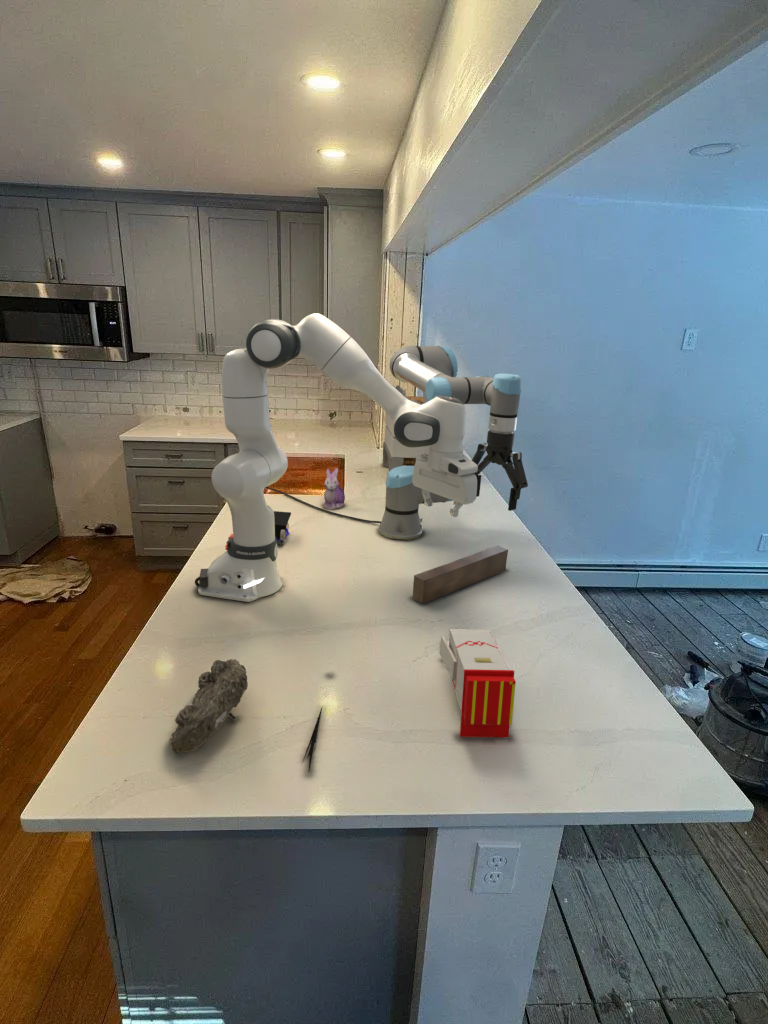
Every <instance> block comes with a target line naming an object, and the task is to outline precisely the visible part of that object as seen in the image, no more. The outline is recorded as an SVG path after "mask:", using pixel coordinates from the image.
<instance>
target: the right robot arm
mask: <svg viewBox="0 0 768 1024" xmlns="http://www.w3.org/2000/svg"><path fill="white" fill-rule="evenodd" d="M458 363H459V362H458V358H457V355H456V354H455V352H454V351H453V350H452V349H451V347H448V346H440V345H406V346H403V347H401V348H399V349H397V350H396V351H395V352H394V353H393V354H392V356H391V358H390V361H389V371H390V373H391V375H392V376H393V378H395V379H396V380H397V381H399V382H402V383H404V384H405V383H406V384H407V383H409V384H410V385H412V386H413V387H415V388H417V389H418V390H420V391H421V392H422V397H423V404H424V403H426V402H428V401H430V400H432V399H434V398H435V397H436V396H439V395H443V396H444V395H445V396H450V397H454V398H456V399H459V400H460V401H461V402H462V403H463V404H464V405H488V406H490V409H489V419H488V427H487V428H488V429H489V430H488V431H487V435H486V442H483V443H478V445H477V448H476V452H475V454H474V455H473V457H472V459H471V461H473V462H474V463H476V464H477V466H478V470H477V472H476V473H474V474H475V475H476V477H477V495H476V498H477V497H480V495H481V493H480V492H481V483H482V475H481V473H482V472H483V471H484V469H486V468H487V467H488V466H489V465H490V463H492V464H497V465H499V466H501V467H502V469H504V470H505V473H506V475H507V477H508V479H509V481H510V483H511V485H512V487H511V488H510V491H509V498H508V499H509V500H508V507H507V511H510V512H511V511H514V510H517V505H518V500H520V498H521V491H522V489H525V488H527V487H529V484H528V479H527V475H526V472H525V468H524V463H523V453H522V452H521V451H519V452H514V451H513V448H514V446H515V439H516V438H515V437H516V433H515V431H516V430H517V421H518V413H519V408H520V407H519V406H520V400H521V393H522V378H521V376H520V375H518V374H514V373H513V374H512V373H496V374H495V375H494V377H490V376H488V375H476V376H471V377H470V376H469V377H468V376H467V377H466V376H460V377H459V376H458V370H459V366H458V365H459V364H458ZM457 376H458V377H457ZM425 449H426V455H428V452H429V446H425ZM485 453H486V455H485ZM484 455H485V457H484V458H483V456H484ZM482 458H483V459H482ZM481 460H482V461H481ZM413 470H414V466H406V465H404V466H400V467H396V468H393V469H391V470H390V471H389V470H388V472H387V475H386V480H385V481H386V482H385V504H384V505H385V507H384V508H385V509H384V513H383V515H382V519H381V520H369V519H365V518H364V519H363V518H358V517H354V516H350V515H345V514H341V513H337V512H334V511H330V510H328V509H324V508H321V507H319V506H315V505H313V504H310V503H308V502H306V501H303V500H301V499H300V498H298V497H295V496H293V495H291V494H288V493H286V492H284V491H281V490H278V489H275V488H272V487H269V486H267V487H265V488H264V489H267V490H270V491H274V492H276V493H279V494H282V495H283V496H286V497H289V498H291V499H293V500H295V501H298V502H299V503H302V504H304V505H306V506H309V507H311V508H314V509H316V510H318V511H322V512H325V513H327V514H331V515H334V516H338V517H342V518H346V519H350V520H355V521H359V522H365V523H371V524H379V525H378V533H379V534H380V535H381V536H382V537H385V538H387V539H389V540H395V541H410V540H415V539H418V538H420V537H421V536H422V535H423V525H422V524H421V523H422V522H423V517H421V518H420V515H419V507H420V506H419V505H424V497H423V495H422V489H421V488H418V487H416V486H414V485H413V483H412V476H413ZM429 494H430V498H431V499H432V500H433V502H432V504H435V503H443V504H444V503H448V502H454V501H453V500H451V499H448V498H445V497H443V496H440V495H437V494H434V493H432V492H429Z"/></svg>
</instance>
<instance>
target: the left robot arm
mask: <svg viewBox="0 0 768 1024" xmlns="http://www.w3.org/2000/svg"><path fill="white" fill-rule="evenodd" d="M296 358H303V359H305V360H307V361H308V362H310V363H311V364H312V365H313V366H314V367H315V368H317V370H319V372H321V373H322V374H323V376H325V377H326V378H328V379H329V380H330V381H332V382H333V383H334V384H336V385H337V386H339V387H341V388H343V389H346V390H347V389H348V390H353V391H358V392H360V393H362V394H364V395H366V396H367V397H368V398H369V399H371V400H372V401H373V402H374V403H376V404H377V405H378V406H379V407H380V408H381V409H382V410H383V411H385V412H387V413H388V414H389V415H390V416H391V418H392V420H393V422H394V434H395V437H396V439H397V440H398V441H399V442H400V443H401V444H402V445H404V446H406V447H423V446H429V452H428V455H426V454H424V453H421V454H419V455H418V456H417V457H416V463H415V466H414V470H413V476H412V483H413V485H414V486H416V487H418V488H421V489H422V495H423V497H424V504H423V505H424V506H426V507H428V508H429V507H432V506H433V503H432V502H433V500H432V499H431V498H430V494H429V492H432V493H434V494H437V495H440V496H443V497H445V498H448V499H451V500H453V501H452V502H453V505H454V506H453V508H450V509H449V516H451V517H453V518H457V517H458V516H459V512H460V509H461V508H462V507H463V505H465V506H466V505H471V504H473V503H474V502H475V501H476V499H477V497H476V495H477V477H476V475H475V474H474V473H476V472H477V470H478V466H477V464H476V463H474V462H473V461H472V459H470V458H469V457H468V456H467V455H466V454H464V443H463V442H464V438H465V435H466V427H467V409H466V406H465V405H466V404H463V403H462V402H461V401H460V400H459V399H456V398H454V397H450V396H445V395H444V396H443V395H439V396H436V397H435V398H434V399H432V400H430V401H428V402H426V403H424V404H422V403H420V402H417V401H415V400H412V399H409V398H407V397H405V396H404V395H403V394H402V393H400V392H399V391H398V390H397V389H396V386H394V385H393V384H392V383H390V382H389V380H387V378H385V377H384V376H383V375H382V374H381V373H380V371H379V370H378V369H377V367H376V366H375V365H374V363H373V361H372V360H371V359H370V357H369V356H368V355H367V353H366V352H365V350H364V349H363V348H362V347H361V345H360V344H359V343H358V342H357V341H356V340H355V339H354V338H353V337H352V336H350V334H348V333H347V332H346V331H345V330H344V329H343V328H341V327H340V326H339V325H337V323H335V322H334V321H332V320H331V319H329V318H328V317H326V316H325V315H324V314H321V313H318V312H317V313H316V312H314V313H311V314H308V315H307V316H305V317H304V318H302V319H301V320H300V322H298V323H297V324H295V325H293V324H292V323H290V322H289V321H286V320H283V319H278V318H270V319H266V320H263V321H259V322H258V323H256V324H255V325H253V326H252V327H251V328H250V330H249V331H248V333H247V335H246V340H245V348H237V349H233V350H231V351H229V352H227V353H226V354H225V355H224V357H223V359H222V365H221V394H222V406H223V407H222V408H223V416H224V425H225V428H226V429H227V431H228V432H229V433H231V434H233V436H234V437H235V439H236V442H237V445H238V449H239V451H238V452H237V453H234V454H231V455H228V456H227V457H225V458H224V459H223V460H221V461H220V462H219V463H218V464H217V465H215V467H213V470H212V472H211V478H210V479H211V483H212V486H213V489H214V491H215V492H216V493H217V494H218V495H219V496H220V497H221V498H223V499H225V501H226V503H227V505H228V507H229V511H230V515H231V524H232V533H231V534H230V535H229V536H228V538H227V541H226V544H225V546H224V547H225V548H224V552H223V553H221V554H220V555H219V556H217V557H216V558H215V559H213V561H212V562H211V563H210V564H209V566H208V568H200V572H199V576H198V577H197V578H196V579H195V580H194V584H195V586H196V587H197V589H198V590H197V592H198V594H199V595H200V596H204V597H205V596H206V597H212V598H220V599H225V600H233V601H239V602H245V603H251V602H254V601H255V600H257V599H260V598H263V597H267V596H268V597H269V596H270V595H273V594H275V593H277V592H278V591H279V590H281V588H282V586H283V582H282V579H281V576H280V573H279V568H278V561H277V560H278V559H277V558H278V541H277V540H276V537H275V518H274V511H275V510H274V509H273V508H272V507H271V506H269V504H267V502H266V498H265V495H264V492H265V489H266V488H265V487H269V486H271V485H273V484H275V483H277V482H278V481H279V480H280V479H281V478H282V477H283V476H284V475H285V473H286V472H287V470H288V467H289V460H288V456H287V454H286V453H285V451H284V450H283V448H281V447H280V446H279V445H278V443H277V440H276V437H275V436H274V433H273V432H274V431H273V429H272V425H271V416H270V406H269V395H268V394H269V393H268V375H269V372H270V370H272V369H278V368H282V367H285V366H287V365H288V364H290V363H291V362H293V360H294V359H296Z"/></svg>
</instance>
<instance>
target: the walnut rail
mask: <svg viewBox="0 0 768 1024" xmlns="http://www.w3.org/2000/svg"><path fill="white" fill-rule="evenodd" d="M508 554H509V549H508V548H505V547H503V546H501V545H495V546H493V547H489V548H487V549H485V550H484V549H483V550H481V551H478V552H476V553H473V554H470V555H467V556H465V557H461V558H459V559H456V560H453V561H450V562H448V563H445V564H442V565H439V566H437V567H434V568H431V569H428V570H425V571H423V572H420V573H417V574H414V575H413V582H412V583H413V585H412V599H413V600H415V601H417V602H418V603H420V604H422V605H423V604H426V603H428V602H431V601H433V600H435V599H438V598H442V597H444V596H446V595H449V594H451V593H453V592H455V591H458V590H460V589H463V588H466V587H468V586H470V585H473V584H475V583H478V582H481V581H484V580H486V579H488V578H490V577H492V576H495V575H498V574H500V573H503V572H504V571H506V570H507V563H508Z"/></svg>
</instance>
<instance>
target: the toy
mask: <svg viewBox="0 0 768 1024" xmlns="http://www.w3.org/2000/svg"><path fill="white" fill-rule="evenodd" d="M438 654H439V656H440V658H441V660H442V662H443V665H444V666H445V668H446V671H447V673H448V675H449V677H450V681H451V683H452V685H453V689H454V690H455V695H456V698H457V702H458V705H459V708H460V726H459V737H460V738H509V737H510V728H511V727H510V726H512V725H513V717H514V706H515V705H514V704H515V693H516V684H517V683H516V679H515V670H514V669H510V667H509V666H508V663H507V662H506V660H505V658H504V655H503V654H502V652H501V650H500V648H499V644H498V642H497V638H496V635H495V634H492V632H491V631H490V629H467V628H466V629H465V628H463V629H461V628H460V629H459V628H450V629H449V631H448V641H447V639H446V638H445V636H444V634H443V635H442V634H441V635H440V641H439V651H438Z"/></svg>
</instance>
